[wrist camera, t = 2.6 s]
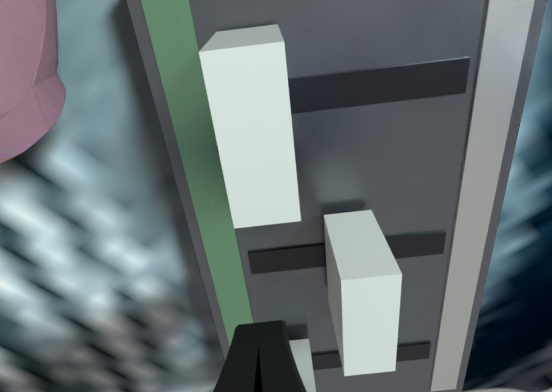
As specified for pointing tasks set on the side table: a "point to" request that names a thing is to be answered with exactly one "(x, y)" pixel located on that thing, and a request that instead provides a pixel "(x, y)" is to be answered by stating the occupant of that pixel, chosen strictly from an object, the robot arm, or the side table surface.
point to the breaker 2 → (304, 362)
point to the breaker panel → (357, 162)
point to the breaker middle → (362, 292)
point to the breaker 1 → (253, 123)
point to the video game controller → (28, 74)
